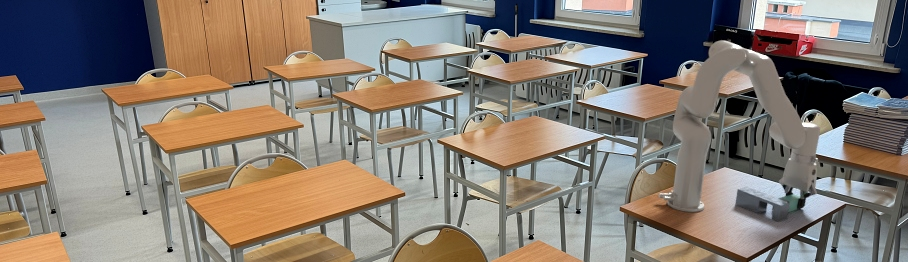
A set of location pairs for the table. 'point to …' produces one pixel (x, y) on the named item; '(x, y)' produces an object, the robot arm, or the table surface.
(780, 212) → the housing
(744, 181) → the table surface
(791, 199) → the plug
